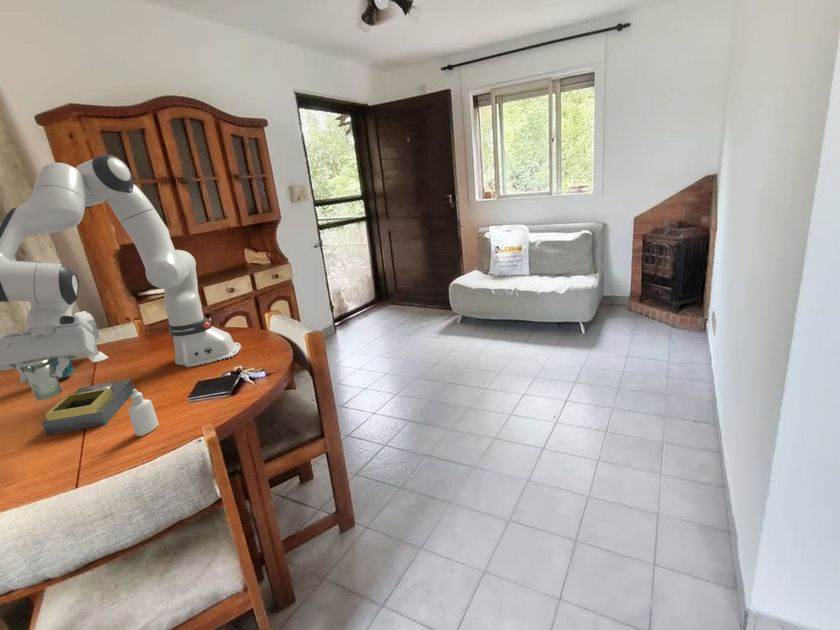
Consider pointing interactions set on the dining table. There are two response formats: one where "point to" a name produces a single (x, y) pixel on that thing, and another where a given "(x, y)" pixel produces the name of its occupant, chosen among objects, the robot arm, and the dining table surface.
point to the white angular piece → (88, 318)
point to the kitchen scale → (87, 407)
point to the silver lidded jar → (41, 378)
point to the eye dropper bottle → (142, 414)
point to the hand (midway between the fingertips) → (41, 379)
